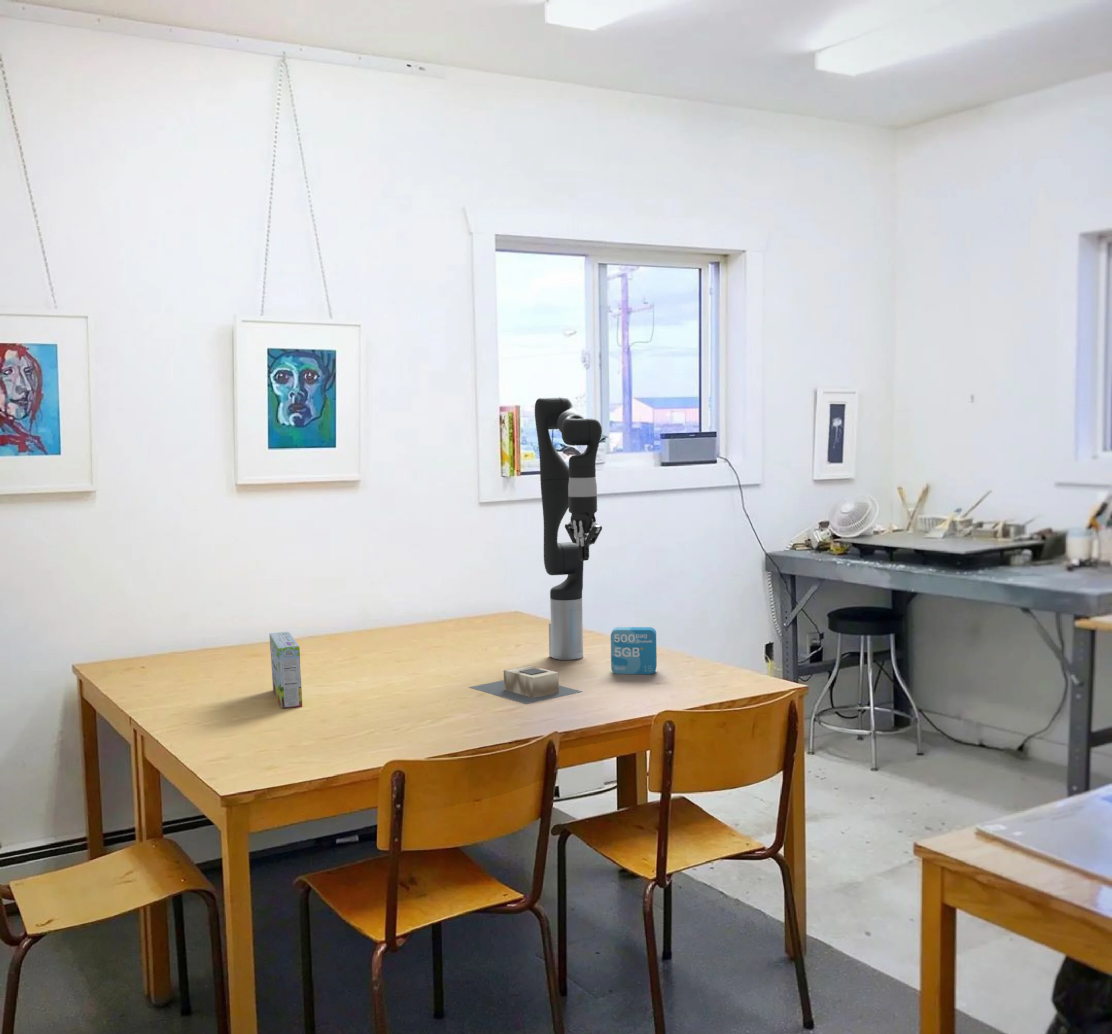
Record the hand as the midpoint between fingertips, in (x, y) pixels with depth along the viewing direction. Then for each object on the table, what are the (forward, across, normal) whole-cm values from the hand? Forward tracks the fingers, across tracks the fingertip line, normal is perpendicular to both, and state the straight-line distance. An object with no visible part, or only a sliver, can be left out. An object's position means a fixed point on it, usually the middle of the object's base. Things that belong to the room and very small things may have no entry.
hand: (583, 560), depth 287 cm
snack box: (+31, +33, +70) cm, 83 cm away
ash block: (+28, +1, +22) cm, 36 cm away
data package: (+31, -6, -12) cm, 34 cm away
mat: (+31, -2, +22) cm, 38 cm away
